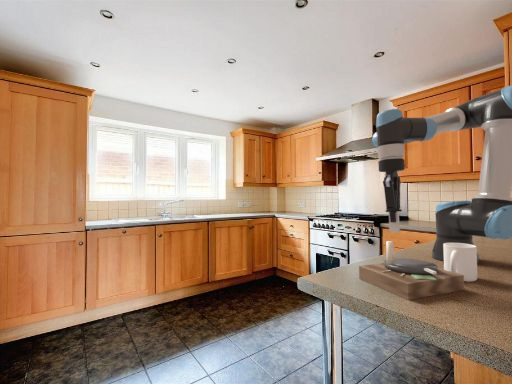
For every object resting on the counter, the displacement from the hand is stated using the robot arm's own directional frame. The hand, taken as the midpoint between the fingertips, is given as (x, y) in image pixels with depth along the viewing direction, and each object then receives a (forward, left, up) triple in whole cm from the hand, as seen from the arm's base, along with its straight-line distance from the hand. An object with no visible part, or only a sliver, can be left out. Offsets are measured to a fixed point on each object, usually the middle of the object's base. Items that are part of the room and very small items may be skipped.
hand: (394, 232), depth 85 cm
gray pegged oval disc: (+1, +7, -10) cm, 12 cm away
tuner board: (+2, +6, -14) cm, 16 cm away
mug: (-16, +8, -15) cm, 23 cm away
